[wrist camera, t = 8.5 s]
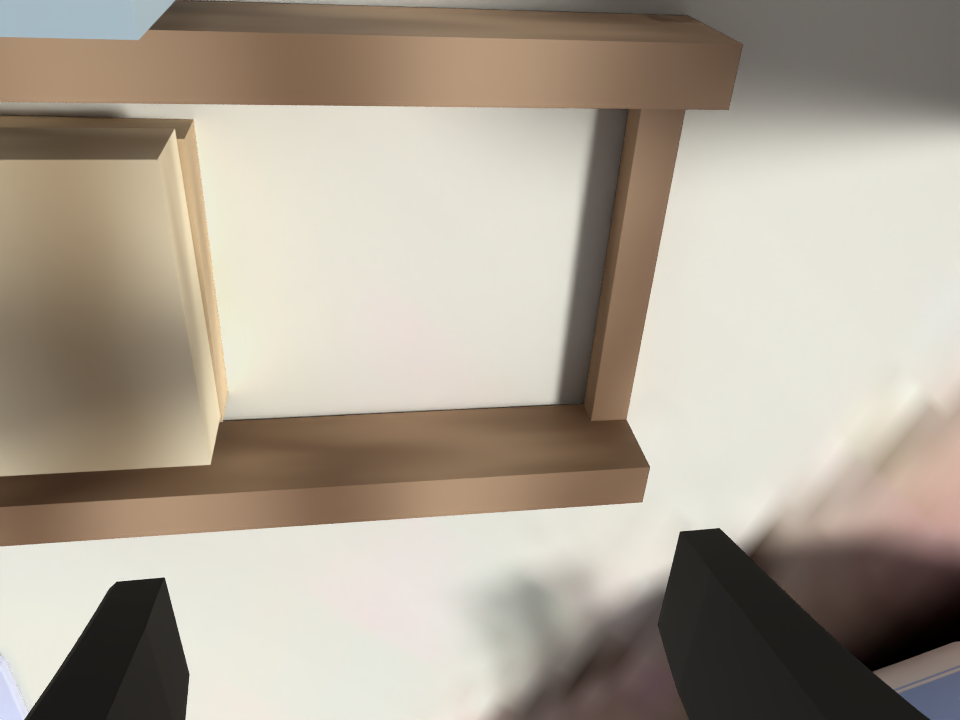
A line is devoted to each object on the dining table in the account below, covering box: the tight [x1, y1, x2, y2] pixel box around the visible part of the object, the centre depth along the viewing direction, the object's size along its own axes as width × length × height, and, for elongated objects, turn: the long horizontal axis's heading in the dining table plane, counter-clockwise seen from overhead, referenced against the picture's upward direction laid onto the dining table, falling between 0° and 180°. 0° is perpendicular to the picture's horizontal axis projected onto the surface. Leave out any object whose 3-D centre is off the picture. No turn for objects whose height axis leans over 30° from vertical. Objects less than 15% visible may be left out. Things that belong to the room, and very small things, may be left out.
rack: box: [0, 0, 743, 546], centre depth 18 cm, size 17×11×3 cm
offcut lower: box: [0, 116, 228, 422], centre depth 18 cm, size 5×7×2 cm
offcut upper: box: [0, 127, 220, 476], centre depth 16 cm, size 5×7×2 cm
